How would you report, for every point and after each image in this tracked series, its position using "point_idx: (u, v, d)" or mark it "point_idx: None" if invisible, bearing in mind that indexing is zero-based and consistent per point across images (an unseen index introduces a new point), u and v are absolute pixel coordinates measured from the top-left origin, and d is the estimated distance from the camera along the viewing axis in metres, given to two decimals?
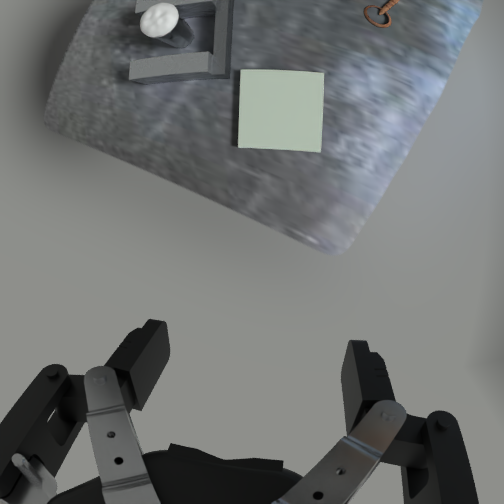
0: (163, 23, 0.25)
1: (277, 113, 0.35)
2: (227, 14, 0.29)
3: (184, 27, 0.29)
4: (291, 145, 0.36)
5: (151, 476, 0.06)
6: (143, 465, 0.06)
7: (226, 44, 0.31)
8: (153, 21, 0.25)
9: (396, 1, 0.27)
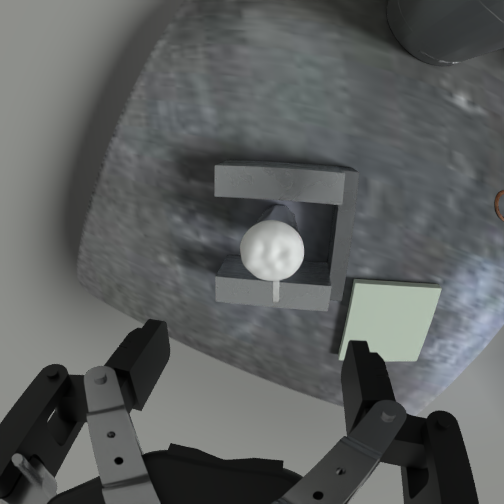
0: (284, 269, 0.22)
1: (386, 330, 0.32)
2: (353, 215, 0.26)
3: None
4: (391, 357, 0.33)
5: (151, 476, 0.06)
6: (143, 465, 0.06)
7: (347, 260, 0.27)
8: (267, 263, 0.22)
9: None
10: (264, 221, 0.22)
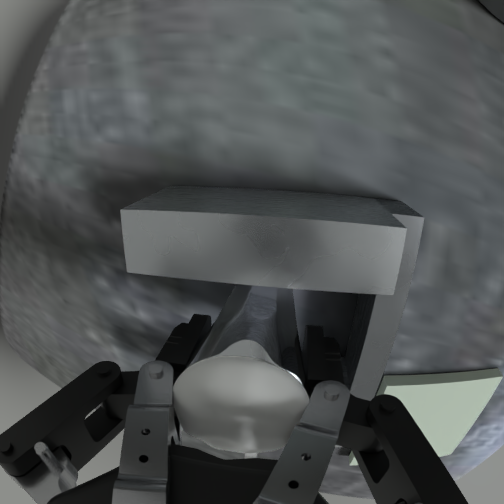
0: (265, 447, 0.09)
1: None
2: (404, 298, 0.13)
3: None
4: None
5: (172, 481, 0.06)
6: (166, 469, 0.06)
7: None
8: (230, 440, 0.09)
9: None
10: (219, 359, 0.09)
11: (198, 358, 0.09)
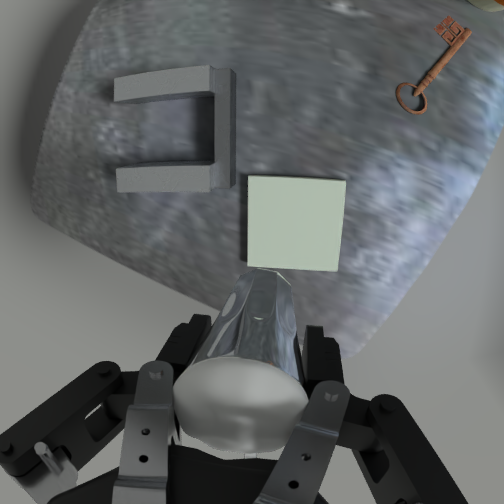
0: (265, 447, 0.09)
1: (291, 230, 0.33)
2: (229, 105, 0.27)
3: None
4: (305, 264, 0.34)
5: (172, 481, 0.06)
6: (166, 469, 0.06)
7: (230, 147, 0.29)
8: (229, 441, 0.09)
9: (434, 76, 0.25)
10: (218, 360, 0.09)
11: (197, 359, 0.09)
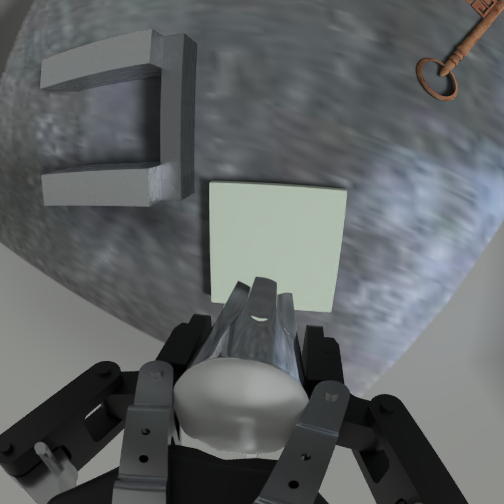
0: (265, 448, 0.09)
1: (269, 257, 0.24)
2: (181, 83, 0.18)
3: None
4: None
5: (172, 481, 0.06)
6: (166, 469, 0.06)
7: (181, 143, 0.20)
8: (230, 442, 0.09)
9: (466, 53, 0.16)
10: (219, 361, 0.09)
11: (198, 360, 0.09)
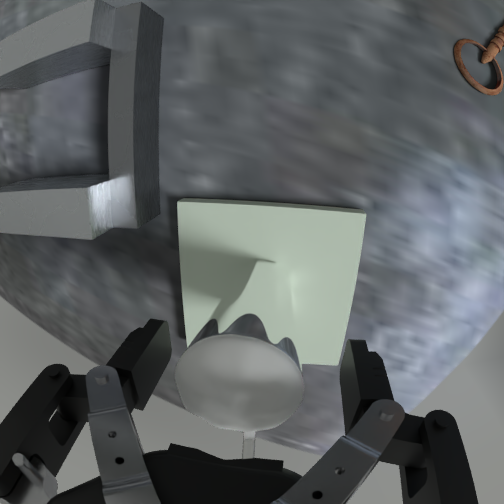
0: (262, 424, 0.10)
1: None
2: (135, 66, 0.12)
3: None
4: None
5: (152, 476, 0.06)
6: (144, 465, 0.06)
7: (135, 149, 0.14)
8: (228, 417, 0.10)
9: None
10: (218, 337, 0.10)
11: (199, 338, 0.10)
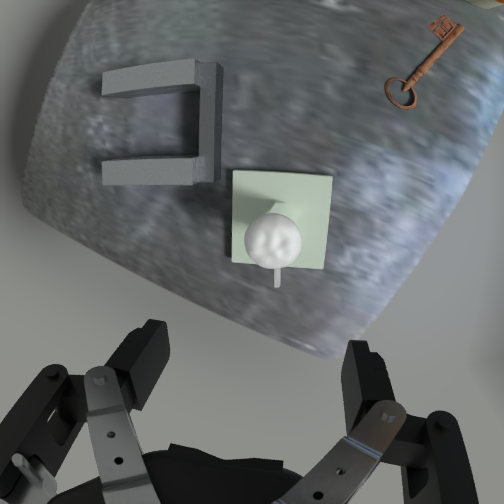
0: (284, 257, 0.24)
1: None
2: (214, 98, 0.27)
3: None
4: None
5: (151, 476, 0.06)
6: (143, 465, 0.06)
7: (214, 141, 0.29)
8: (269, 252, 0.24)
9: (425, 71, 0.25)
10: (265, 214, 0.24)
11: None
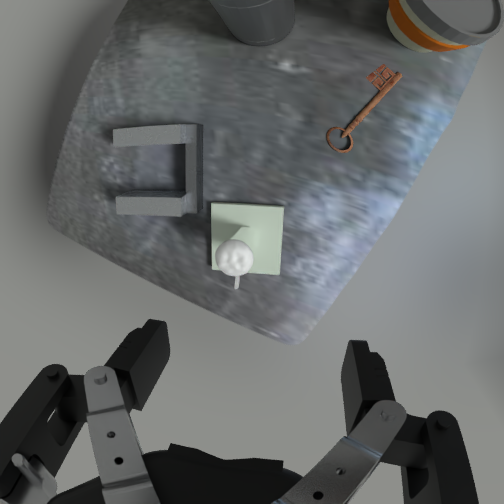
0: (241, 269, 0.37)
1: None
2: (196, 152, 0.39)
3: None
4: (254, 269, 0.46)
5: (151, 476, 0.06)
6: (143, 465, 0.06)
7: (196, 183, 0.41)
8: (231, 265, 0.36)
9: (361, 119, 0.37)
10: (228, 240, 0.36)
11: (223, 242, 0.37)
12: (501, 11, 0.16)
